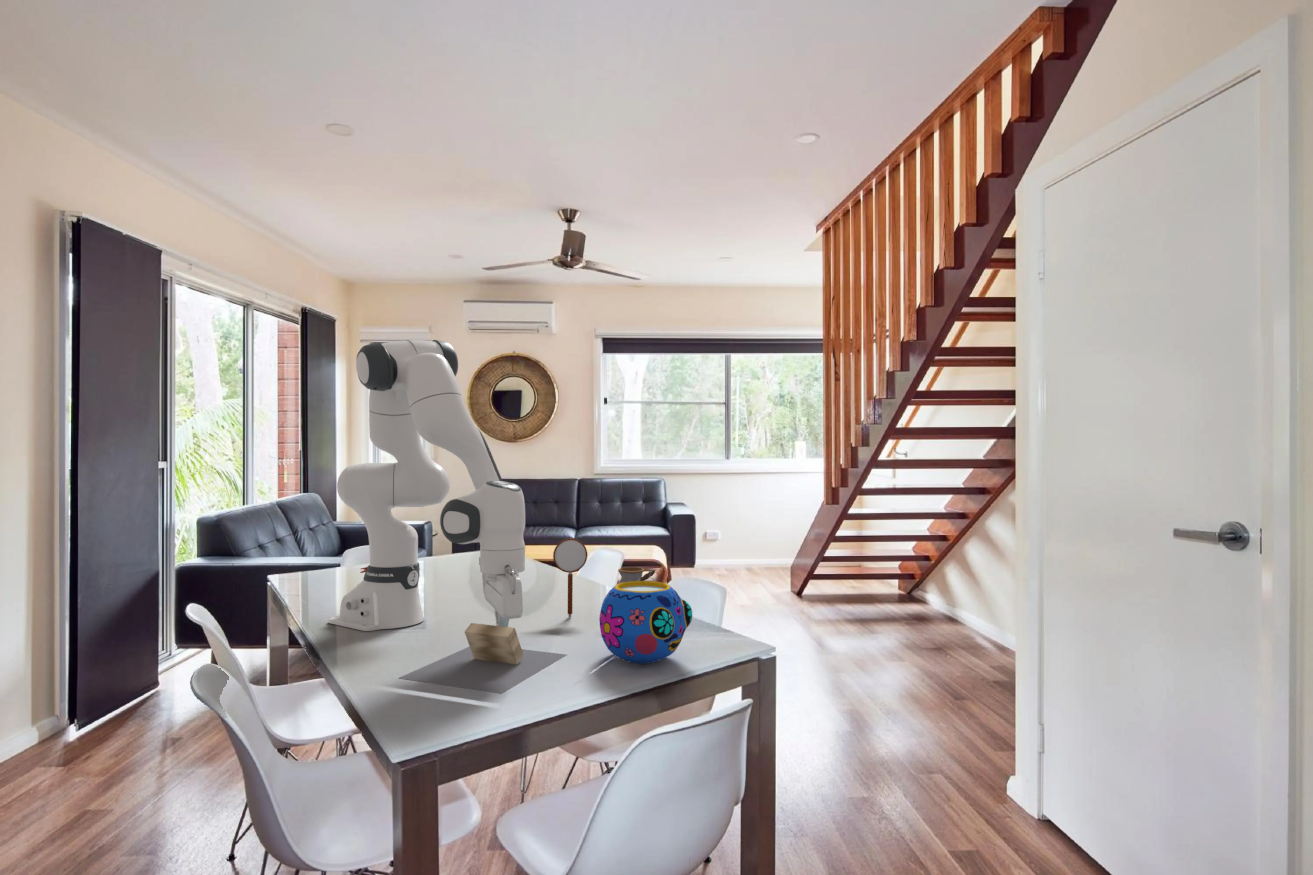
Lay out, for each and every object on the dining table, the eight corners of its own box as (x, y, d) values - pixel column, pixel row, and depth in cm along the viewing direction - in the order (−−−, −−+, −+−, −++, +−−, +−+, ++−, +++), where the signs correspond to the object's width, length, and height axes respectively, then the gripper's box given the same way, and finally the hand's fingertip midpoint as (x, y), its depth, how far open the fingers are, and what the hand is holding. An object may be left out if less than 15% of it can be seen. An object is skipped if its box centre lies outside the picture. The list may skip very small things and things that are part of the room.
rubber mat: (398, 681, 125) (398, 677, 125) (476, 646, 148) (476, 643, 148) (501, 696, 118) (501, 693, 118) (567, 657, 140) (567, 654, 140)
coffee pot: (602, 617, 174) (602, 558, 174) (644, 613, 178) (645, 555, 178) (630, 639, 154) (630, 572, 154) (677, 634, 158) (677, 569, 159)
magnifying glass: (552, 619, 172) (553, 539, 172) (552, 617, 174) (553, 538, 174) (587, 617, 174) (587, 538, 174) (586, 615, 175) (587, 537, 176)
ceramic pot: (660, 680, 127) (660, 598, 127) (581, 664, 136) (582, 588, 136) (700, 655, 142) (701, 582, 142) (627, 643, 151) (628, 574, 151)
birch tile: (474, 658, 137) (464, 631, 134) (481, 649, 140) (471, 622, 137) (517, 664, 134) (508, 636, 131) (523, 654, 136) (515, 627, 133)
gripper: (531, 569, 130) (530, 642, 129) (507, 554, 148) (506, 618, 148) (497, 571, 127) (496, 646, 127) (477, 556, 146) (477, 621, 145)
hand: (502, 631), depth 137 cm, fingers closed
